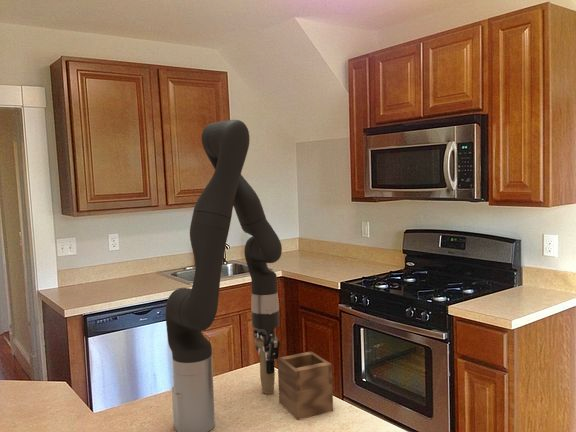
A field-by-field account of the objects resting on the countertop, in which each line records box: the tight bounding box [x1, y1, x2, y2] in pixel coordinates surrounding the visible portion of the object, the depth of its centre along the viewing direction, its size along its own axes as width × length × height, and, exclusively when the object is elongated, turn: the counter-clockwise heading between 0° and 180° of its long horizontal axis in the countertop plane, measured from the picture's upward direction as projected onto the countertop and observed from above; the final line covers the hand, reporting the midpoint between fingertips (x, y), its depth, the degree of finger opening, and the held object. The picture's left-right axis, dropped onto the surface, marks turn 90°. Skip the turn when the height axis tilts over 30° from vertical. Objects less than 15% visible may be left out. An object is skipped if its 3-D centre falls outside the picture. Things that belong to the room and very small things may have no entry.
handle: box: [253, 336, 279, 395], centre depth 139 cm, size 5×6×15 cm
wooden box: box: [277, 350, 334, 420], centre depth 130 cm, size 10×11×12 cm
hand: (267, 370), depth 139 cm, fingers closed on handle, 4 cm apart
